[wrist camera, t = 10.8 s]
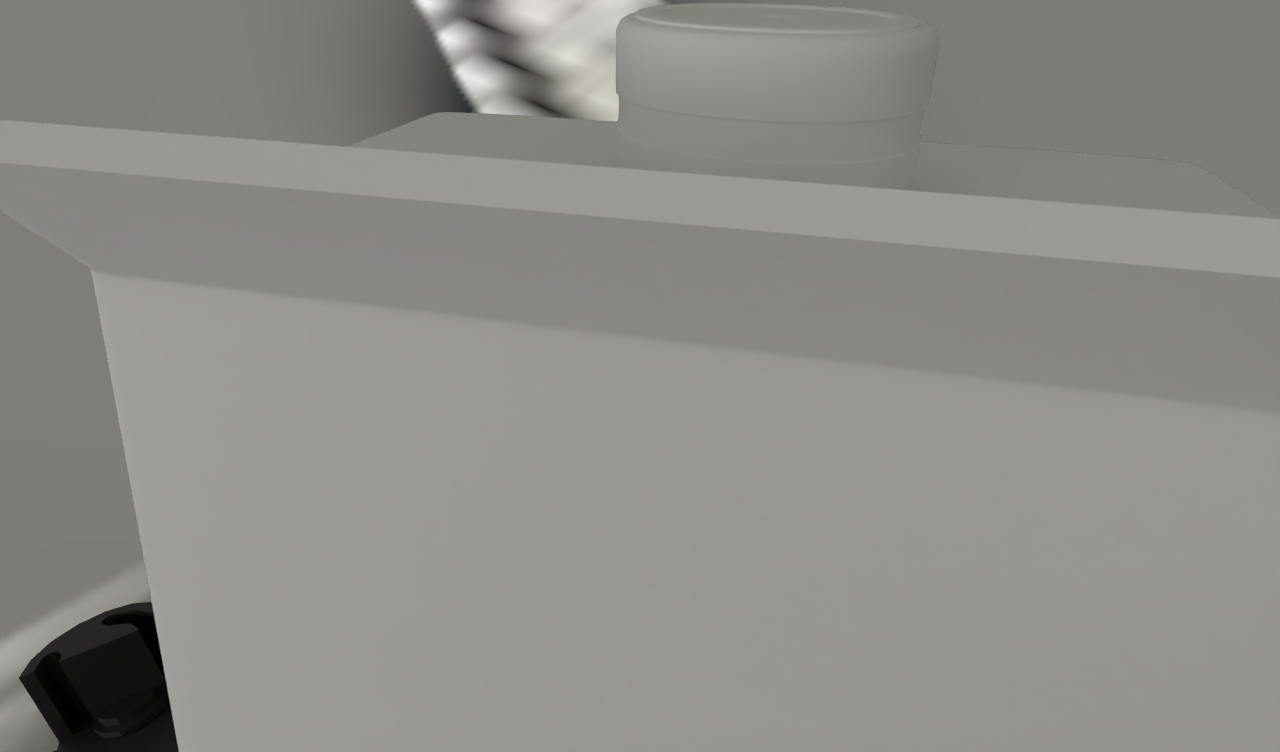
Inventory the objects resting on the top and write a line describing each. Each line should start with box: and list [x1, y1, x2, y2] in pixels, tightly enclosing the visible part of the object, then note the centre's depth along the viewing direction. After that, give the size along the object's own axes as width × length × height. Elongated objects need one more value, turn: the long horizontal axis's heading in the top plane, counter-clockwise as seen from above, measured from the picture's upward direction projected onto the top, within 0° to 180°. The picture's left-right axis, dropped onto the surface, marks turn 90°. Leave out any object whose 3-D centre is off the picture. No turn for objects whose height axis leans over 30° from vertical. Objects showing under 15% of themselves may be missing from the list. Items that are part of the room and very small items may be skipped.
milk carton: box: [0, 3, 1280, 752], centre depth 12 cm, size 7×7×19 cm
